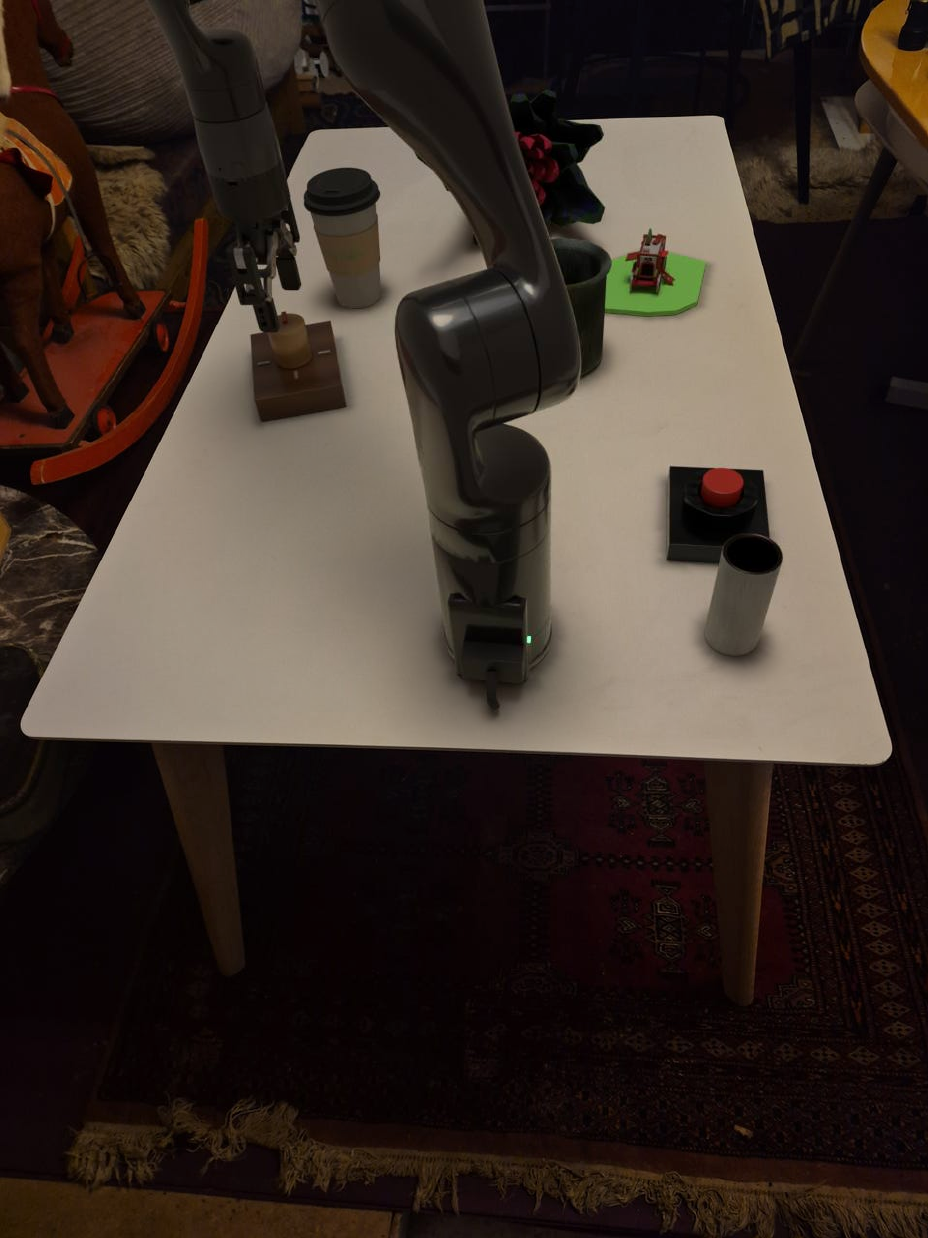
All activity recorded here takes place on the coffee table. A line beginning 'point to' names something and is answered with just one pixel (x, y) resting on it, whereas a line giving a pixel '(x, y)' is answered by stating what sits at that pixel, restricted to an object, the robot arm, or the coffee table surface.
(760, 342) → the coffee table surface
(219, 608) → the coffee table surface
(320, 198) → the coffee cup
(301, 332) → the knob
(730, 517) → the button block
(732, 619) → the planter
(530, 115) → the decorative plant
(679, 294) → the toy diorama
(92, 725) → the coffee table surface
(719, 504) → the button
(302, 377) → the panel
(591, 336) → the mug
